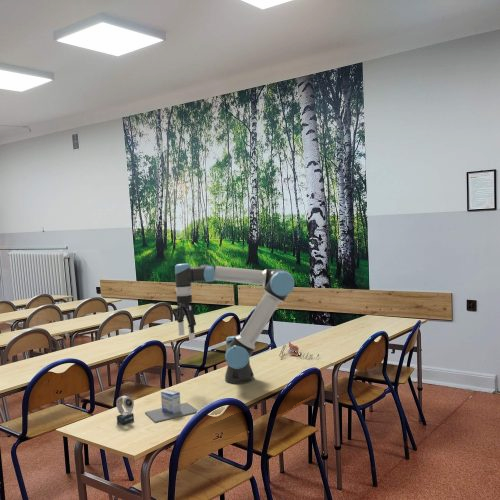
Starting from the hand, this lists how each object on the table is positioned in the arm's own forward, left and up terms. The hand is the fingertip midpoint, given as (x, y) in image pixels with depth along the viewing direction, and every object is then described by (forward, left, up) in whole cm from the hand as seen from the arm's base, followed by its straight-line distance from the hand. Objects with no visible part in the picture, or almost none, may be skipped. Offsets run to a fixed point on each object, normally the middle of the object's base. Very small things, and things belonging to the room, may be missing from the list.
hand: (186, 337), depth 262 cm
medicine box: (+19, +25, -26) cm, 41 cm away
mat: (+19, +25, -27) cm, 41 cm away
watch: (+39, +23, -27) cm, 53 cm away
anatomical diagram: (-78, -18, -28) cm, 85 cm away
